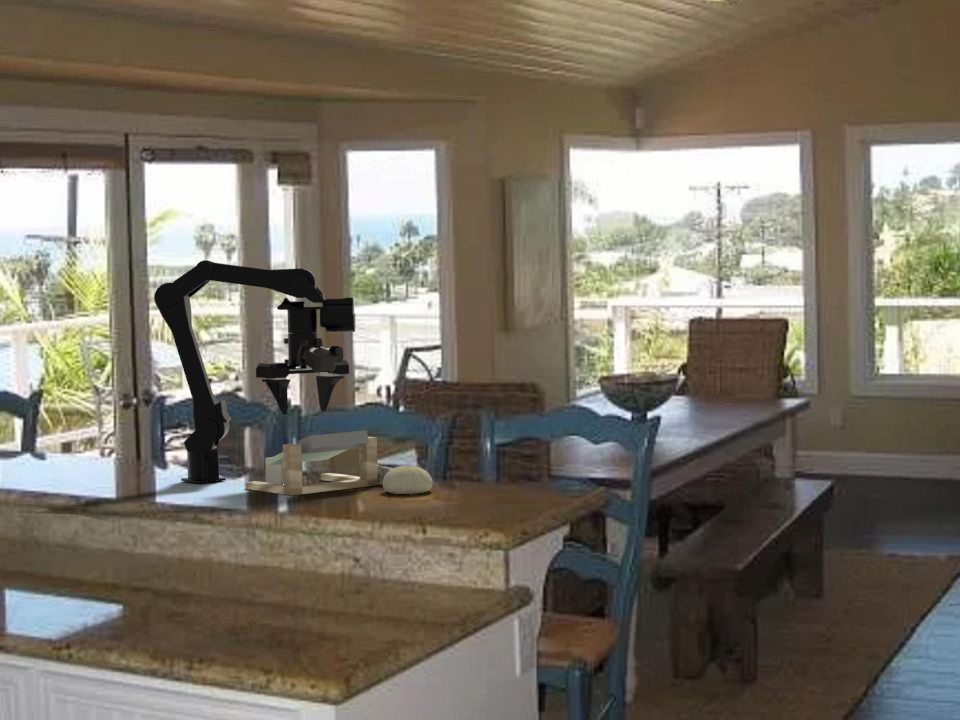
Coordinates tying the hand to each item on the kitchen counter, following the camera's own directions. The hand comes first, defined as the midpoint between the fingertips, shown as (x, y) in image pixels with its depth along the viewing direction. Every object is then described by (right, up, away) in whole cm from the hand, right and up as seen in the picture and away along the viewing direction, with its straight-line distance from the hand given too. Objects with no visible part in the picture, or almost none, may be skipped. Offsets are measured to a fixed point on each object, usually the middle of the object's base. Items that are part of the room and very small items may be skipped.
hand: (304, 413), depth 303 cm
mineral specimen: (+18, -14, -9) cm, 25 cm away
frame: (+3, -14, -12) cm, 18 cm away
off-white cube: (-3, -8, -5) cm, 10 cm away
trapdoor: (+4, -7, -13) cm, 16 cm away
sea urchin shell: (+21, -14, -21) cm, 33 cm away
